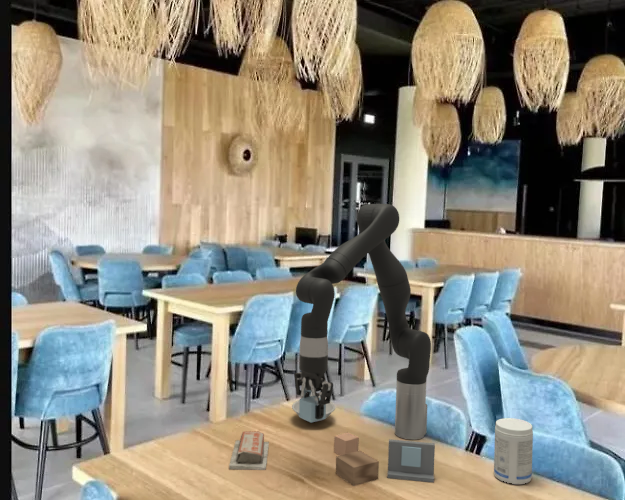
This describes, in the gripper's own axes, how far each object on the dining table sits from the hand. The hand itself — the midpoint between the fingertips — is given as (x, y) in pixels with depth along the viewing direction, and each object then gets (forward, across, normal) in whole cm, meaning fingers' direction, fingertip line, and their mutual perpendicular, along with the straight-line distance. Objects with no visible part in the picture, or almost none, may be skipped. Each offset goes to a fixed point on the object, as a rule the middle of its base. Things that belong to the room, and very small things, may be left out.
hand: (312, 415), depth 161 cm
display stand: (+15, -18, -20) cm, 31 cm away
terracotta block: (+15, +3, -16) cm, 22 cm away
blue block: (+1, 0, 0) cm, 1 cm away
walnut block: (+15, -10, -8) cm, 20 cm away
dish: (+16, +29, -24) cm, 41 cm away
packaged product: (+16, +18, +8) cm, 25 cm away
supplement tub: (+16, -35, -41) cm, 56 cm away
